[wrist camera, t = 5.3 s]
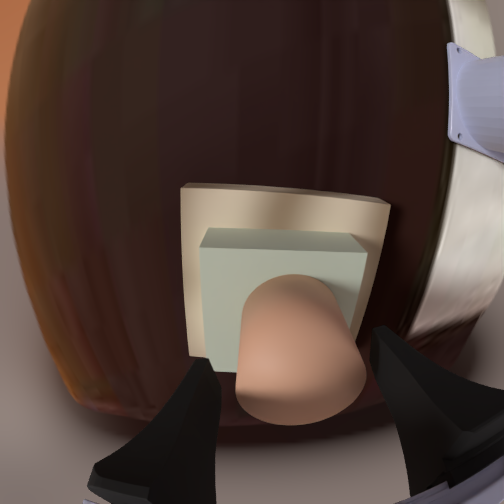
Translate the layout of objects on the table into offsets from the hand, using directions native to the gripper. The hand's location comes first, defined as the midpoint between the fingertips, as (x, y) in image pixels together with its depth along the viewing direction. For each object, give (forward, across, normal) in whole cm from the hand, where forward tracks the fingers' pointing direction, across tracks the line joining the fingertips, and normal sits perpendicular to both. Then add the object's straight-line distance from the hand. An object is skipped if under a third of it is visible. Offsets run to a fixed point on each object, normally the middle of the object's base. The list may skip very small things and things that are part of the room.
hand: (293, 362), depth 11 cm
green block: (+6, 0, 0) cm, 6 cm away
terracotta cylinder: (+3, 0, 0) cm, 3 cm away
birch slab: (+9, 0, 0) cm, 9 cm away
